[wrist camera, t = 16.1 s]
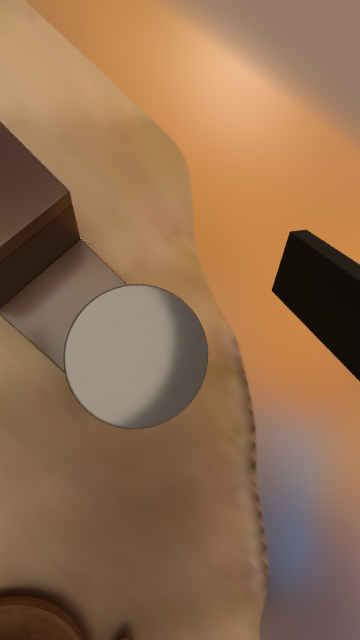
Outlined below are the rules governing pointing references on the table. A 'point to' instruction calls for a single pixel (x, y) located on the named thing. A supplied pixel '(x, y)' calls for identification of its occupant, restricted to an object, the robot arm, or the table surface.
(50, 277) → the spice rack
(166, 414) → the spice jar
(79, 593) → the table surface
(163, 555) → the table surface
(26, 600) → the place setting
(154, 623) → the table surface
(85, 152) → the table surface
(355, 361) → the robot arm
